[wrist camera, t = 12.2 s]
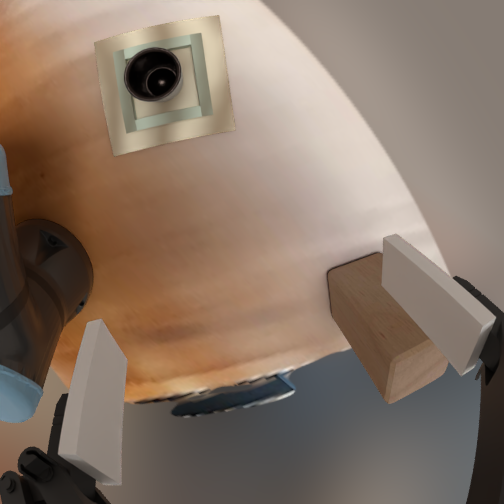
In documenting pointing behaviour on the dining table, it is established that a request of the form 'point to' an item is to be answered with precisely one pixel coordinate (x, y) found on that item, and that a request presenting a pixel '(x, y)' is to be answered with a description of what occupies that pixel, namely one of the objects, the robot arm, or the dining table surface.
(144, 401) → the dining table surface
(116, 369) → the robot arm
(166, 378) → the dining table surface
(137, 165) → the dining table surface
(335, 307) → the block
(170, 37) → the stand
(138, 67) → the grey hollow tube
